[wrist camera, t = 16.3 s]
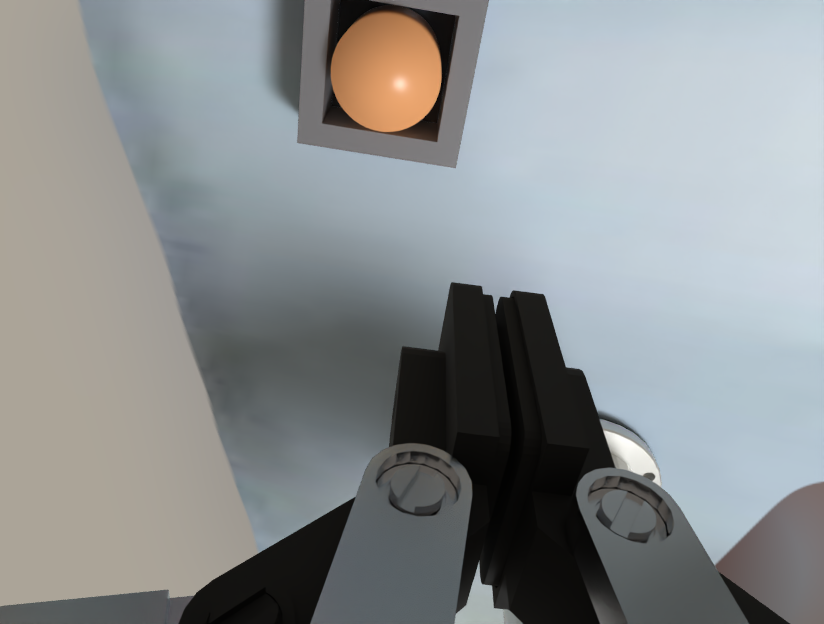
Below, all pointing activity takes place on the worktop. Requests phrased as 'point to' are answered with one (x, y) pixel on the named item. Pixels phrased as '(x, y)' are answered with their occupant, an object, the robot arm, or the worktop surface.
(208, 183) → the worktop surface
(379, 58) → the button
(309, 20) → the button housing
